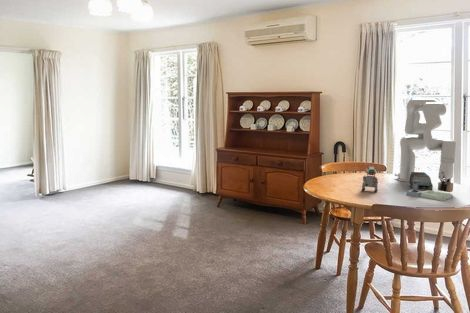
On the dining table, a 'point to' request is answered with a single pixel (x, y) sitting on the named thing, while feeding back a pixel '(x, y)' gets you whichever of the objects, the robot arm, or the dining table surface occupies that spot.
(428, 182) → the toy van
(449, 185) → the chock
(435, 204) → the dining table surface
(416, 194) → the pin socket
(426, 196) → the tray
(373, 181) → the figurine
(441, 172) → the robot arm
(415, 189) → the stop pin
